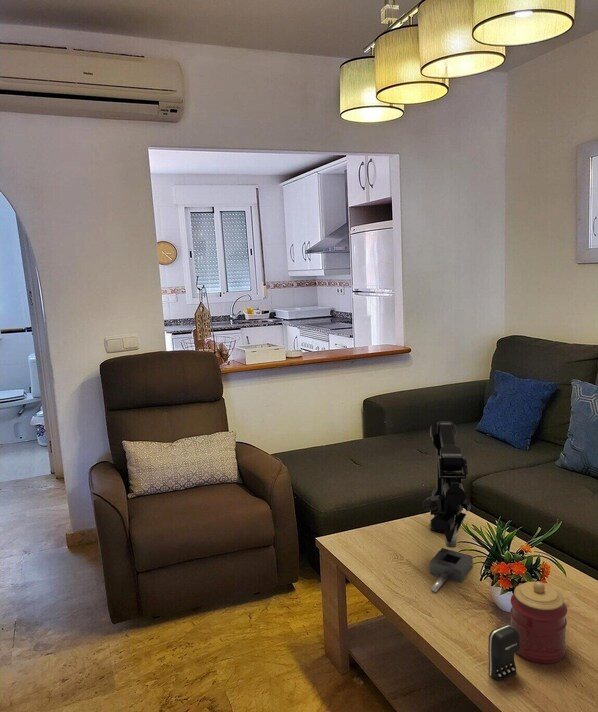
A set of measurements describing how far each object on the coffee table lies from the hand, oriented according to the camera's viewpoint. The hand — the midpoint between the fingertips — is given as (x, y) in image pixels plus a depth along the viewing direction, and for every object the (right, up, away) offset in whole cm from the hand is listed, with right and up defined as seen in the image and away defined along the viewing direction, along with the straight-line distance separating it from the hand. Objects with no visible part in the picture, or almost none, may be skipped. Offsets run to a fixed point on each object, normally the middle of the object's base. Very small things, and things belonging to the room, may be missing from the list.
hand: (451, 539), depth 180 cm
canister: (+13, -16, -35) cm, 40 cm away
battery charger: (+1, -18, -43) cm, 47 cm away
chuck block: (-2, -11, -2) cm, 11 cm away
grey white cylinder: (0, -2, 0) cm, 2 cm away
